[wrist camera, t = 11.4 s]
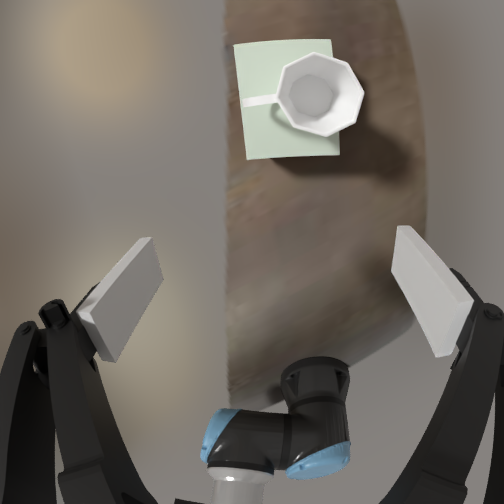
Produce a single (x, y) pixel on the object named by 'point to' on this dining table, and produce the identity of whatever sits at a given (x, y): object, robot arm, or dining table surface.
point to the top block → (271, 115)
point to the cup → (316, 94)
